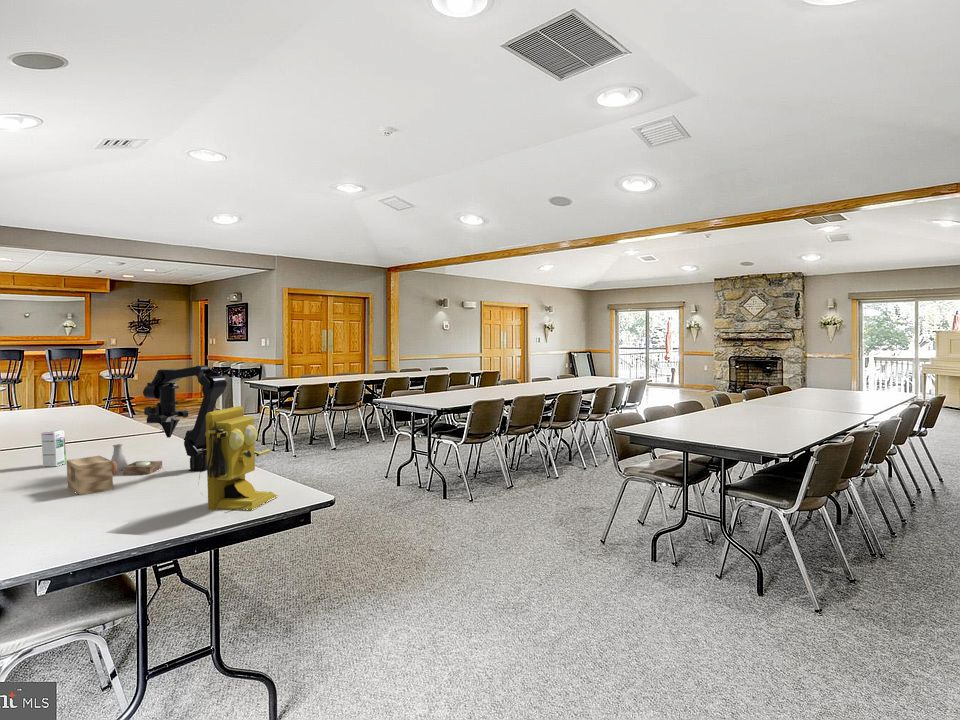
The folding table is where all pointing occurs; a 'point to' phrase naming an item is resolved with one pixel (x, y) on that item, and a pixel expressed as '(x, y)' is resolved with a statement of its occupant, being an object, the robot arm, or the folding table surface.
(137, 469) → the button housing
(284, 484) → the folding table surface
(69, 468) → the wooden box
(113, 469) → the plunger
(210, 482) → the vintage telephone
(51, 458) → the syrup box
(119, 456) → the flask
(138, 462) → the table button
